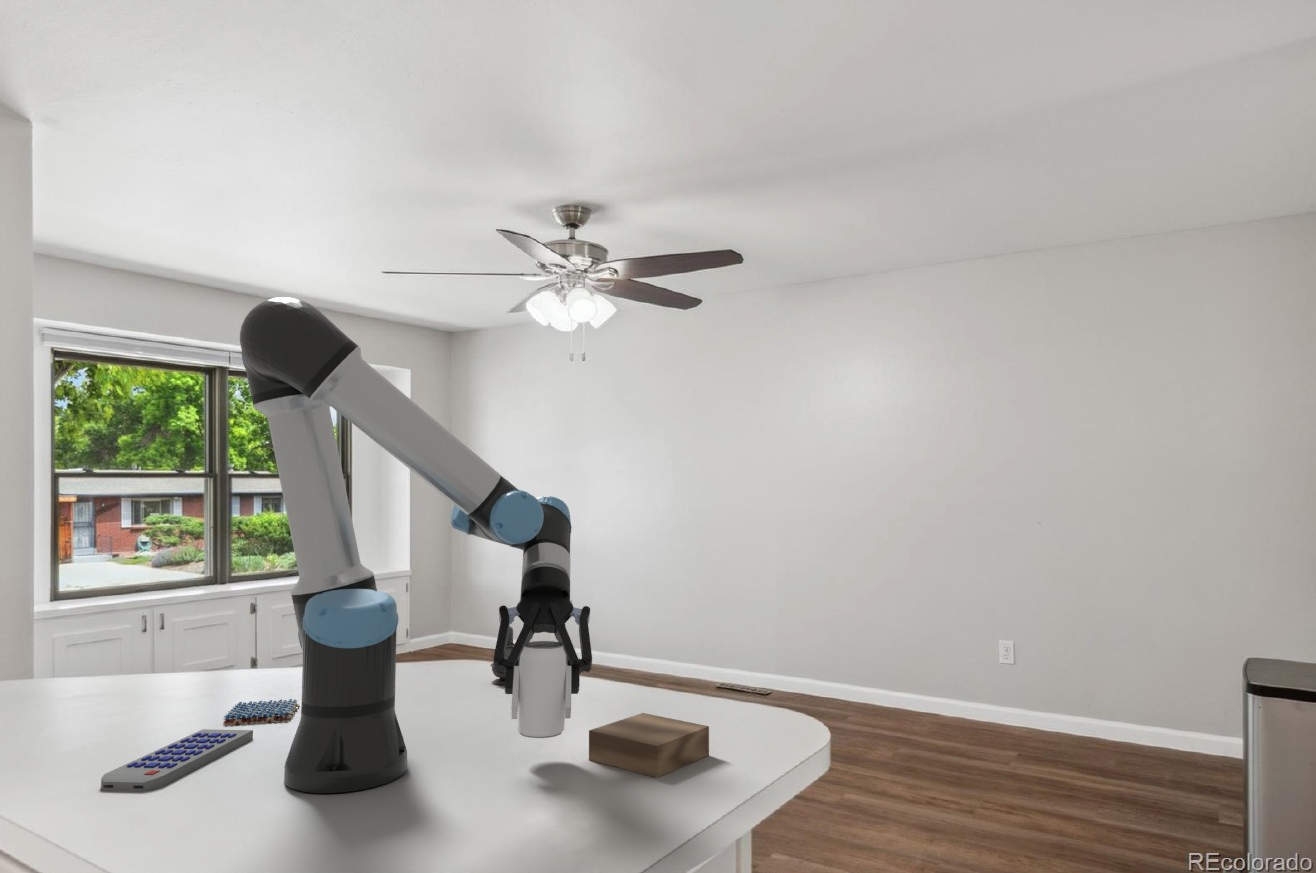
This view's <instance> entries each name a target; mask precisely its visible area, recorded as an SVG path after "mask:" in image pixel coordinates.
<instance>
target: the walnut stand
mask: <svg viewBox="0 0 1316 873" xmlns="http://www.w3.org/2000/svg"><path fill="white" fill-rule="evenodd" d="M708 756H710V726H709V725H705V724H699V723H695V722H691V721H690V722H689V721H685V720H680V719H675V718H671V717H670V718H669V717H665V716H664V717H663V716H659V715H655V714H649V713H645V712H641V713H639V714H635V715H632V716H630V717H629V716H628V717H626V718H623V719H620V720H617V721H614V722H610V723H608V724H604V725H602V726H598V727H595V728H592V729H589V730H588V760H589V761H592V762H596V763H600V764H603V765H606V766H607V765H608V766H611V767H615V768H619V769H623V770H627V771H630V772H634V773H638V774H642V775H646V776H650V777H653V778H660V777H662V776H664V775H666V774H669V773H671V772H673V771H675V770H678V769H680V768H683V767H685V766H687V765H690V764H692V763H694V762H696V761H699V760H701V759H704V758H705V757H708Z"/></svg>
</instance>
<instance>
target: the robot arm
mask: <svg viewBox="0 0 1316 873" xmlns="http://www.w3.org/2000/svg"><path fill="white" fill-rule="evenodd" d="M239 343H240V349H241V359H242V363H243V367H244V369H245V372H246V377H247V382H248V387H249V392H250V396H251V397H250V398H251V401H252V406H253V409H255V410H257V411H258V412H260V413H261V414H263V415H265V418H267V424H268V427H269V433H270V439H271V443H272V447H273V448H272V449H273V452H274V457H275V462H276V467H277V473H278V477H279V482H280V487H281V492H282V493H281V494H282V497H283V501H284V502H283V503H284V506H285V512H286V517H287V518H286V519H287V522H288V526H289V531H290V537H291V541H292V546H293V552H294V557H295V561H296V567H297V572H298V576H299V578H298V581H297V582H296V583H295V585H294V586H293V588H292V590H290V593H291V594H290V595H291V601H292V605H293V610H294V614H295V621H296V626H297V629H298V631H297V634H298V635H297V636H298V640H299V645H300V648H301V651H302V673H301V674H302V675H301V677H302V679H301V681H302V682H301V706H300V708H301V710H300V720H299V722H298V726H297V729H296V732H295V734H294V736H293V740H292V743H291V746H290V748H289V752H288V754H287V757H286V760H285V763H284V772H283V774H284V776H283V777H284V778H283V782H284V784H285V786H287V787H288V788H290V789H291V790H295V791H297V792H303V793H310V794H311V793H312V794H334V793H335V794H337V793H349V792H355V791H361V790H366V789H371V788H374V787H378V786H381V785H385V784H387V783H390V782H392V781H395V780H397V779H399V778H400V777H402V776H403V775H404V774H405V773H406V772H407V770H408V750H407V746H406V744H405V741H404V736H403V733H402V730H401V727H400V724H399V720H398V717H397V714H396V672H397V671H396V670H397V664H396V663H397V628H398V624H399V615H398V614H399V613H398V611H397V610H398V607H397V602H396V600H395V598H394V597H393V596H392V595H391V594H389V593H387V592H384V591H378V589H377V583H376V579H375V574H374V572H373V571H372V570H370V569H369V568H367V567H366V566H364V564H362V562H361V559H360V554H359V548H358V544H357V538H356V533H355V528H354V524H353V518H352V514H351V509H350V503H349V498H348V494H347V489H346V485H345V484H346V483H345V479H344V472H343V469H342V464H341V458H340V454H339V448H338V443H337V440H336V433H335V429H334V428H335V427H334V425H333V418H332V413H331V408H332V409H334V410H335V411H336V412H337V413H338V414H340V415H341V416H343V418H344V419H346V420H348V421H349V422H350V423H351V424H352V425H354V426H355V427H356V428H358V429H359V431H361V432H362V433H364V434H365V435H366V436H368V437H369V438H370V440H373V441H374V442H375V443H376V444H378V445H379V446H380V447H381V448H382V449H384V450H385V451H386V452H387V453H389V454H390V455H392V456H393V457H394V458H395V459H396V460H398V461H399V462H400V463H401V464H402V465H403V466H405V467H406V468H408V469H409V470H410V471H412V473H414V474H415V475H416V476H418V477H419V478H420V479H422V480H423V481H424V482H425V483H426V484H428V485H429V486H430V487H431V488H433V489H434V490H435V491H437V492H438V493H439V494H440V495H441V496H443V497H444V498H445V499H446V500H448V501H449V502H450V503H451V504H453V508H452V511H451V515H450V524H451V527H452V528H454V530H458V531H460V532H462V533H466V534H467V535H468V536H475V537H478V538H482V539H485V540H488V541H491V542H493V543H498V544H503V545H506V546H508V547H510V548H515V549H519V550H521V551H522V552H523V553H522V565H521V566H522V567H521V568H522V569H521V584H520V585H521V587H520V596H519V597H520V599H519V601H518V603H517V604H516V606H514V607H513V606H512V607H507V605H504V604H503V605H500V606H499V608H498V615H499V616H498V618H499V620H498V621H499V629H498V635H497V639H496V643H495V649H494V654H493V658H492V659H493V661H492V663H494V671H496V672H500V671H502V672H504V673H505V686H504V692H505V695H511V710H510V711H511V712H510V713H511V720H518V697H519V666H518V665H519V663H520V655H521V652H522V651H523V648H524V646H523V644H524V643H527V642H531V640H532V639H533V637H534V635H535V634H540V633H548V634H554V638H555V639H556V640H557V642H560V643H563V644H564V646H563V649H564V651H565V653H566V686H565V719H571V718H572V717H571V716H572V715H571V714H572V695H578V694H579V692H580V684H581V683H580V676H581V675H580V674H581V673H583V672H587V673H589V672H591V670H592V664H593V654H592V653H593V652H592V645H591V637H590V628H589V622H590V617H591V616H590V615H591V608H590V606H587V605H585V606H583V607H582V608H579V607H575V606H574V604H573V603H572V602H571V536H572V535H571V534H572V522H571V515H570V513H571V512H570V509H569V507H568V505H567V503H565V502H564V500H562V499H560V498H558V497H556V496H552V495H551V496H538V497H536V496H534V495H532V494H531V493H529V492H528V491H526V490H525V491H524V490H521V489H518V488H517V487H516V486H515V485H514V484H512V483H511V482H510V481H509V480H508V479H506V478H505V477H503V476H502V475H501V474H500V473H499V472H498V471H497V470H495V469H494V467H492V466H491V465H490V464H488V463H487V462H486V461H485V460H484V459H482V458H481V457H480V456H479V455H478V454H476V452H474V451H473V450H472V449H470V448H469V447H468V446H467V445H466V444H464V443H463V442H462V441H461V440H460V439H459V438H457V437H456V436H455V435H454V434H453V433H452V432H451V431H449V430H448V429H447V428H445V427H444V426H443V425H442V424H441V423H439V422H438V421H437V420H436V419H434V417H432V416H431V415H430V414H429V413H427V412H426V411H425V410H424V409H423V408H421V407H420V406H419V405H418V404H416V402H414V401H413V400H412V399H411V398H410V397H408V396H407V395H406V394H405V393H403V392H402V391H401V390H400V389H399V388H397V386H395V385H394V384H393V383H391V382H390V381H389V380H388V379H387V378H386V377H384V375H382V374H381V373H380V372H378V371H377V370H376V369H375V368H374V367H373V366H371V365H370V364H369V363H368V362H366V361H365V360H364V359H363V358H362V349H361V347H360V346H359V345H358V344H357V343H356V342H355V341H353V340H352V339H351V338H349V337H348V335H346V333H345V332H343V331H342V330H341V329H340V328H339V327H337V326H336V325H335V323H333V322H332V321H331V320H330V319H329V318H328V317H326V316H325V314H323V313H322V311H320V310H319V309H318V308H317V307H315V306H314V305H312V304H310V303H308V302H306V301H304V300H300V299H298V298H295V297H287V296H286V297H284V296H281V297H273V298H270V299H269V298H268V299H266V300H265V301H262V302H260V303H258V304H257V305H255V306H254V307H253V308H251V310H249V312H248V313H247V314H246V316H245V317H244V319H243V322H242V324H241V327H240V331H239ZM516 617H518V618H519V619H520V621H521V622H522V624H523V625H522V628H521V631H520V632H519V634H518V636H517V639H516V641H515V643H514V644H515V645H514V646H513V649H512V651H511V653H510V655H509V657H508V659H504V657H505V652H506V646H507V641H508V635H509V626H510V625H512V624H513V622H514V621H515V618H516ZM572 617H573V618H574V622H575V623H576V624H577V626H578V636H579V646H580V654H581V658H579V657H578V654H577V653H576V650H575V647H574V645H573V642H572V640H571V637H570V635H569V632H568V630H567V627H566V623H567V622H568V621H569V620H570V619H571V618H572Z"/></svg>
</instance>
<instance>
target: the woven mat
mask: <svg viewBox="0 0 1316 873" xmlns="http://www.w3.org/2000/svg"><path fill="white" fill-rule="evenodd" d="M296 707H299V708H301V706H300V704H299V703H298V700H297V699H292V698H289V700H287V699H285V700H283V699H279V701H277V700H272V699H271V700H270V699H269V701H265V700H259V701H258V702H257V701H252V700H251V701H249V702H248V703H247V702H243V701H239V702H238V703H237V704H234V706H232V708H231V709H230V710H228V711H227V713H225V715H224V716H223V722H222V723H223V726H224V727H225V726H235V725H236V726H238V725H256V724H270V723H273V724H274V723H286V722H287V723H288V722H291V721H292V720H291V719H293V718H294V716H295V712H297V711H299V708H296ZM293 711H294V712H293Z"/></svg>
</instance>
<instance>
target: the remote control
mask: <svg viewBox="0 0 1316 873" xmlns="http://www.w3.org/2000/svg"><path fill="white" fill-rule="evenodd" d="M253 739H254V730H253V729H211V728H210V729H205V728H204V729H201V730H198V731H197V732H194V733H192V734H189V735H187V736H186V737H183V738H181V739H179V740H177V741H174V742H171V743H170V744H167V745H165V746H164V747H161V748H159V749H156V750H155V751H153V752H150V753H148V754H145V755H143V756H141V757H139V758H136V759H134V760H133V761H130V762H128V763H126V764H123V765H121V766H119V767H117V768H115V769H113V770H110V771H109V772H108V771H107V772H106V773H104V774H103V776H101V781H100V782H101V783H100V789H101V790H102V791H118V792H121V791H122V792H146V791H152V790H156V789H158V788H159V789H160V788H162V787H165V786H166V785H169V784H170V783H172V782H174V781H176V780H178V779H180V778H182V777H183V776H185V775H188V774H189V773H192V772H193V771H196V770H197V769H199V768H201V767H202V766H205V765H207V764H208V763H210V762H212V761H214V760H216V759H218V758H219V757H221V756H224V755H225V754H227V753H229V752H231V751H233V750H235V749H236V748H239V747H240V746H243V745H244V744H246V743H248V742H250V741H251V740H253Z"/></svg>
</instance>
